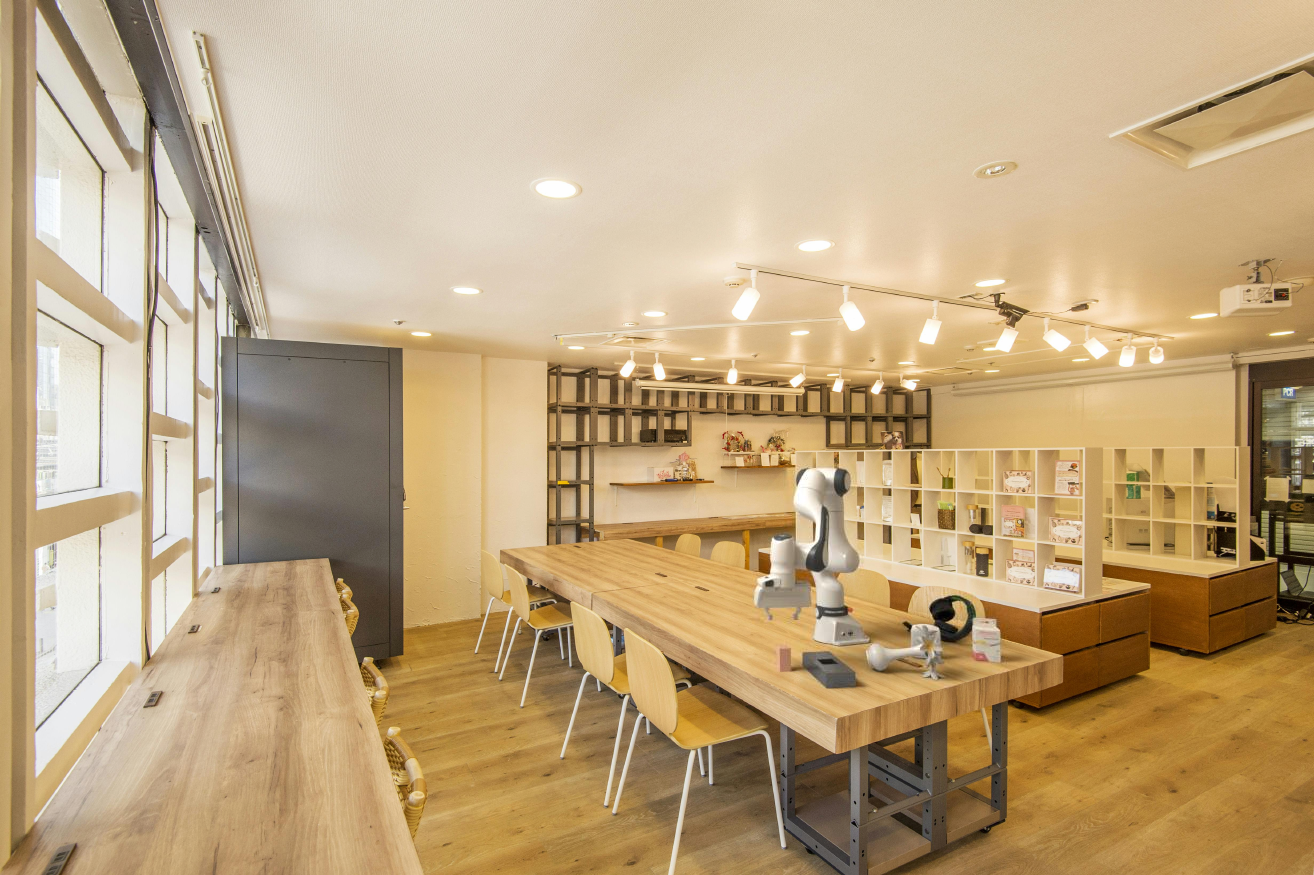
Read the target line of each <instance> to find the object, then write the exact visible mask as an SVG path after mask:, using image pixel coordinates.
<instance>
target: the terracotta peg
mask: <svg viewBox="0 0 1314 875" xmlns="http://www.w3.org/2000/svg"><path fill="white" fill-rule="evenodd" d="M775 648H776V649H775V653H776V654H775V657H776V661H775V662H776V666H775V668H776V669H777V670H778V672H779V673H782V672H792V658H791V657H792V656H791V654H792V648H791V647H790V646H789V645H788V644H781V645H780V644H778V645H775Z"/></svg>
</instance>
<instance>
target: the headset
mask: <svg viewBox="0 0 1314 875" xmlns="http://www.w3.org/2000/svg"><path fill="white" fill-rule="evenodd" d="M955 602H962V603H963V604H964V605H965V606H966V608H965V610H966V615H967V619H966V622H965V623H964V624H963V627H962V628H961V629H959V628H958V627H957V626H954V625H952V624H950V623H948V622H950V621H952V620H954V618H955V617H956V610H955V608H954V607H953V606H954V605H953V603H955ZM928 610H929V613H930V614H931V617H932V619H933V620H934V621H933V622H934V623H933V626H936V627H938V628H939V631H940V638H941V640H942V641H945V642H951V641H953V642H959V641H961V640H963V639H965V638H966V637H968V636H969V635H970V634H971V632H972V626H973V618H977V613H976V607H975V606H974V604H973V603H972V602H971V601H970V600H969V599H967V598H965V597H963V596H961V595H958V594H951V595H948V596H945V597H940V598H937V599H935V600H933V601H932V602H931V603H930V604H929V607H928ZM917 624H918V623H916V624H915V625H917ZM902 625H903V626H904V627H905V628H906V629H907V630H906V631H907V632H908V633H909V634H911V629H912V624H911V623H909V622H908V621H902Z"/></svg>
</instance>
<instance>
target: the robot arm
mask: <svg viewBox="0 0 1314 875" xmlns="http://www.w3.org/2000/svg"><path fill="white" fill-rule="evenodd" d="M795 484H796V489H795V493H794V497H793V503H792V504H793V507H794V509H795V510H796V512H797V513H798V514H799V515H800V516H802V517H803V518H804V519H807V520H810V521H812V522H814V523H815V537H814V541H813V542H811V543H810V542H809V543H808V542H801V541H800V542H799V541H795V539H794V536H793V535H792V534H789V533H779V534H776V535H774V536H772V538H771V542H770V550H769V551H770V552H769V560H770V565H771V566H770V569H769V571H770V572H769V574H767V575H764V576H761V577H758V578H757V579H756V583H757V586H756V587H755V589H754V596H753V604H754V606H755V607H756V608H758V609H762V608H763V611H764V612H765V614H766V619H767V621H773V618H774V617H773V614H772V613H770V609H771V608H772V609H773V608H774V609H775V608H795V609H796V611H795V612H794V613H792V619H793V620H795V621H799V615H800V613H801V612H802V608H809V607H811V605H812V596H811V590H812V584H811V582H810V581H808V580H805V579H804V580H800V579H799V580H798V579H796V570H804V571H810V573H811V575H812V577H813V581H814V583H815V596H816V603H815V609H814V614H815V626H814V631H813V636H812V639H813V640H814V641H817V642H820V643H824V644H829V645H834V646H840V647H841V646H849V645H850V646H851V645H857V644H866V643H870V642H871V640H870V637H869V636H867V634H865V633H864V628H863V626H862V624H861V623H860V622H859V621H858V620H857V619H856V618H854V617H853V616H851V615H850V614H849V613H851V614H852V613H853V608H852V607H850V606H848V605H846V604H845V588H844V585H843V583H841V581H839V580H838V578H837V577H836V576H835V573H838V574H849V573H854V572H856V571H857V570H858V568H859V566H860V560H861V559H860V555H859V553H858V551H857V550H856V549H855V548H854V547H853V546H852V545H851V543H850V541H849V540H848V537H847V534H846V530H845V503H844V495H846V494H847V493H848V492H849V491H850V489H851V484H852V479H851V474H850V472H849V471H848V470H847V469H845V468H842V467H841V468H839V467H838V468H837V467H836V468H835V467H825V466H824V467H812V468H809V467H806V468H801V469H800V470H799V471H797V474H796V477H795Z"/></svg>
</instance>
